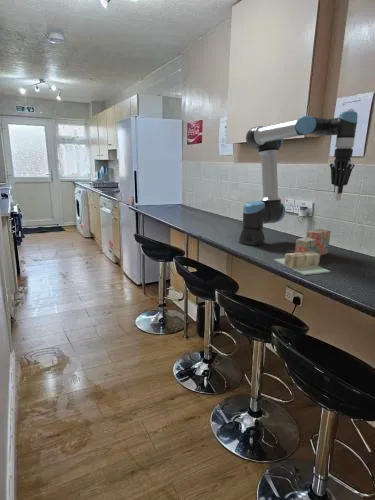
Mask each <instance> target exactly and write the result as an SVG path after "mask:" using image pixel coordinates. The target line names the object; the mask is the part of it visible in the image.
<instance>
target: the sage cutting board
mask: <svg viewBox="0 0 375 500" xmlns="http://www.w3.org/2000/svg"><path fill="white" fill-rule="evenodd" d="M273 261H275V262H277V264H280V265H282V266H285V267H287V268H289V269H291V270H293V271H295V272H297V273H299V274H301V275H303V276H308V275H318V274H319V275H320V274H326V273H331V270H329V269H326V268H324V267H322V266H320V265H314V266H303V267H293V268H291V267H289V266H287V265H285V264H284V263H285V257H283V258H274V259H273Z"/></svg>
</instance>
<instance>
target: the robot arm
mask: <svg viewBox="0 0 375 500" xmlns="http://www.w3.org/2000/svg"><path fill="white" fill-rule="evenodd" d="M358 115H359V114H358V112H357V111H353V110H351V111H349V110H347V111H342V112H340V113H339V115H338V117H334V118H333V117H332V118H331V117H330V118H326V117H318V116H312V115H303V116H300V117H299V118H297V119H294V120H289V121H285V122H280V123H277V124H273V125H268V126H267V125H266V126H264V125H258V126H254V127H251V128H250V129H249V130H248V131H247V132H246V136H245V141H246V143H247V145H248V147H250V148H251V149H255V150H258V155H259V156H260V157H261V178H262V180H261V182H262V198H261V200H255V201H252V200H251V201H248V202H246V203H244V204H243V209H242V227H241V228H242V229H241V231H240V234H239V237H238V243H239V244H242V245H248V246H262V245H265V244H266V238H265V234H264V224H275V223H278V222H281V221H282V220H283V219H284V217H285V216H286V206H285V205H284V204H283V203H282V199H281V198H280V197H279V189H278V185H279V183H278V162H277V161H278V157H277V154H278V153H279V152H280V148H282V145H283V142H284V140H285V139H289V138H290V139H291V138H295V137H300V136H306V135H308V136H309V135H315V136H317V137H327V136H328V137H329V136H336V139H335V145H334V146H335V147H334V148H335V149H334V154H333V156H334V158H335V159H334V161H333V162H332V163H330V164H329V167H330V177H331V178H330V179H331V181H330V182H331V183H330V184H331V185H333V186H334V188H333V201H341V198H342V194H343V189H344V186H345V187H346V186H347V185H348V183H349V180H350V177H351V174H352V172H353V169H354V167H355V165H356V164H354V163H352V162H351V161H352V160H351V158H352V157H353V152H354V146H355V145H354V144H355V138H356V137H355V136H356V131H357V130H356V129H357V124H358V118H359V117H358Z"/></svg>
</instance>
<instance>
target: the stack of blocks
mask: <svg viewBox="0 0 375 500" xmlns="http://www.w3.org/2000/svg"><path fill="white" fill-rule="evenodd" d="M330 238H331V230H328V229H322V228H317V229H312V230H307V231H306V237H301V238H298V239H297V238H296V241H295V245H294V253H301V252H316V253H318V254H321V255H320V257H321V256H323V255H327V254H328V252H329V245H330V240H331V239H330Z"/></svg>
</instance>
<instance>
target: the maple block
mask: <svg viewBox="0 0 375 500" xmlns="http://www.w3.org/2000/svg"><path fill="white" fill-rule="evenodd" d="M320 255H321V254H318V253H316V252H301V253H295V252H293V253H292V252H290V253H285V255H284V258H285V263H284V264H285V265H287V266H289V267H291V268H293V267H303V266H314V265H318V266H320V262H321V256H322V255H321V256H320ZM287 266H286V267H287ZM289 267H288V268H289ZM291 268H290V269H291Z"/></svg>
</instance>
